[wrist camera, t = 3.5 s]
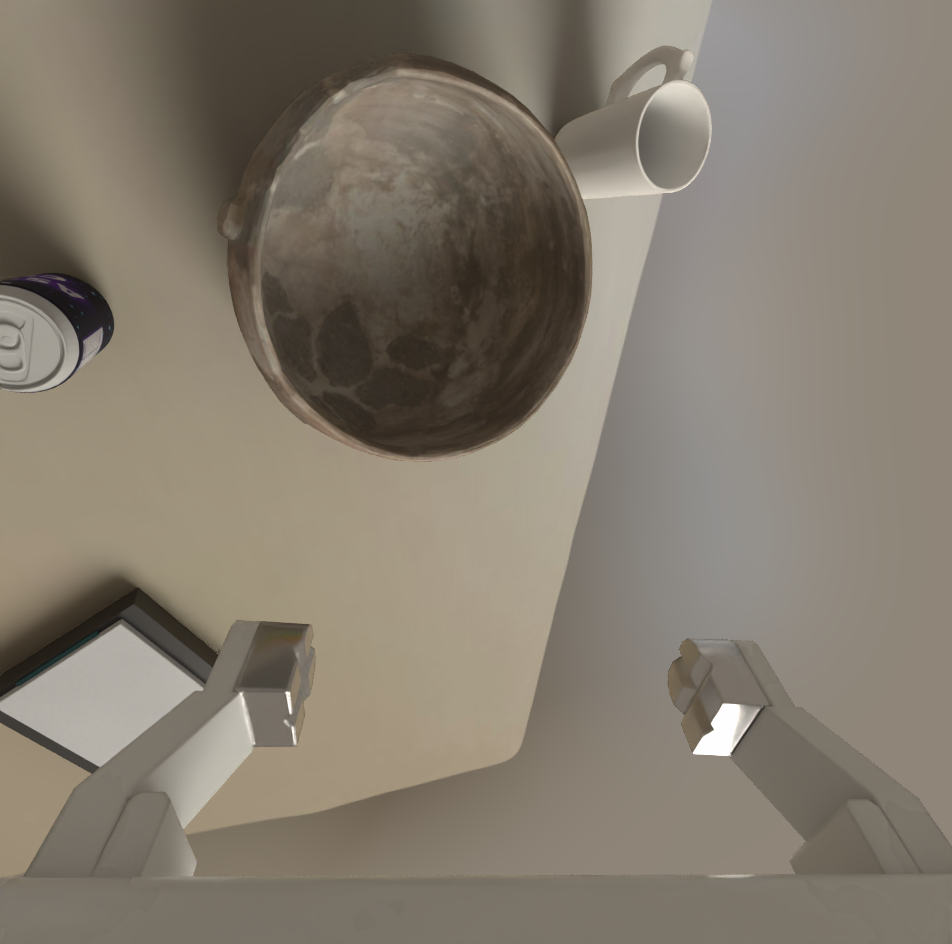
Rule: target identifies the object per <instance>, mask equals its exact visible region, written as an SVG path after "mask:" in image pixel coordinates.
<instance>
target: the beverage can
mask: <svg viewBox="0 0 952 944" xmlns="http://www.w3.org/2000/svg"><path fill="white" fill-rule="evenodd" d="M113 330H114V319H113V315H112V312H111V309H110V307H109V305H108V303H107V302H106V300H105V299H104V298H103V296H102V295H101V294H100V293H99V292H98V291H97V290H96V289H94V288H93V287H92V286H90V285H89V284H87V283H86V282H84V281H82V280H80V279H78V278H75V277H73V276H69V275H65V274H60V273H44V274H38V275H32V276H27V277H21V278H16V279H10V280H4V281H0V389H1V390H7V391H12V392H20V393H34V392H41V391H46V390H49V389H52V388H55V387H57V386H59V385H61V384H62V383H64V382H65V381H67V380H68V379H69V378H70V377H71V376H72V375H74V374H75V373H76V372H77V371H78V370H79V369H80V368H82V367H83V366H84V365H85V364H86V363H87V362H88V361H90V360H91V359H92V358H93V357H94V356H95V355H97V354H98V353H99V352H100V351H101V350H102V349H103V348H104V347H105V346H106V345H107V344H108V343H109V341H110V339H111V337H112V335H113Z"/></svg>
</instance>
